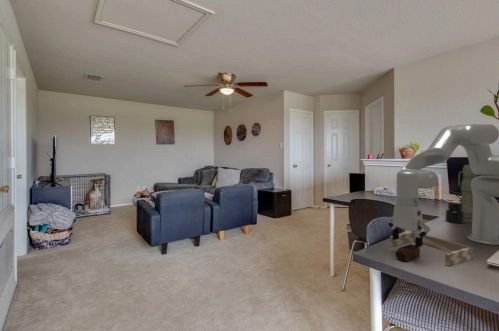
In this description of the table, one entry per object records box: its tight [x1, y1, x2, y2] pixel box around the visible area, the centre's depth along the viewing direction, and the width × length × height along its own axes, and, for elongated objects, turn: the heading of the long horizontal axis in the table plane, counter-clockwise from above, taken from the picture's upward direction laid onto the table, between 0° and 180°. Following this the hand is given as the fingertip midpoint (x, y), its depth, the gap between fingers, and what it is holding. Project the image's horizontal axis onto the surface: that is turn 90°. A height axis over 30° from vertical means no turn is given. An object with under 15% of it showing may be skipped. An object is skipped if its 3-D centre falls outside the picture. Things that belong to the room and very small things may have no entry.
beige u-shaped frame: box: [389, 231, 474, 267], centre depth 112 cm, size 17×24×4 cm
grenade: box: [457, 163, 483, 220], centre depth 171 cm, size 9×12×35 cm
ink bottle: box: [445, 201, 465, 224], centre depth 160 cm, size 10×9×12 cm
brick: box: [395, 243, 421, 263], centre depth 105 cm, size 11×4×5 cm, turn 119°
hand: (406, 242), depth 106 cm, fingers open, 9 cm apart
